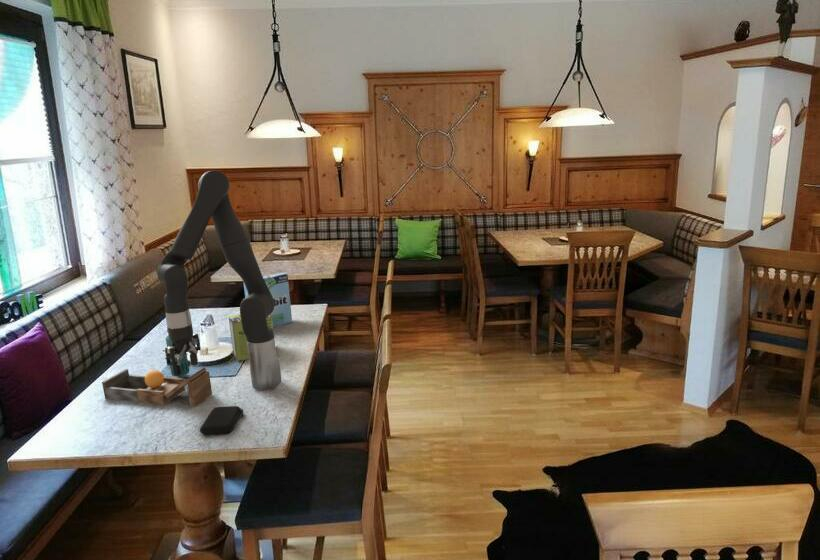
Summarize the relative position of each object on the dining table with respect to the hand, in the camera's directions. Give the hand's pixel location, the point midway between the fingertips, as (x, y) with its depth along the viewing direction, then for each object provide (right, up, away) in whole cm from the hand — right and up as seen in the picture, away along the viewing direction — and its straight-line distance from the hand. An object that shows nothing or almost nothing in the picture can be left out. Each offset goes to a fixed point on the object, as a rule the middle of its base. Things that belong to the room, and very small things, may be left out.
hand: (186, 369), depth 192 cm
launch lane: (-12, -10, +6) cm, 16 cm away
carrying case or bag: (+17, -15, -14) cm, 27 cm away
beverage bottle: (-10, -6, +21) cm, 24 cm away
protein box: (+12, 0, +41) cm, 42 cm away
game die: (-17, -3, +35) cm, 39 cm away
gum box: (+11, +9, +72) cm, 74 cm away
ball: (-13, -4, +5) cm, 14 cm away
